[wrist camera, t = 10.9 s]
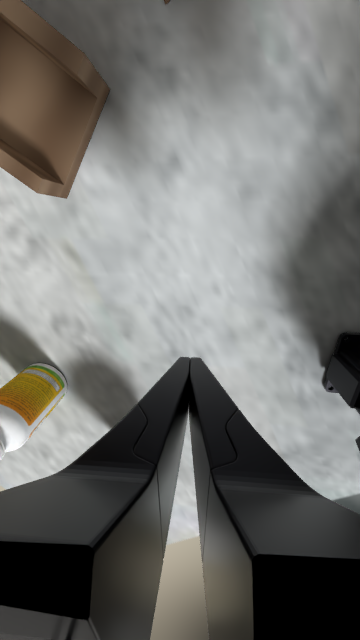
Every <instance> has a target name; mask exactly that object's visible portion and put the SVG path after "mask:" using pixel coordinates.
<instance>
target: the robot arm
mask: <svg viewBox="0 0 360 640" xmlns="http://www.w3.org/2000/svg"><path fill="white" fill-rule="evenodd" d="M346 337H348V338H347V339H346V340H344V339H345V338H346ZM330 386H331V387H330ZM329 387H330V388H329ZM324 388H325V390H326V391H327V392H332V393H339V394H340V395H341V396H342V398H343V399H344V400H345V402H346V403H347V404H348V405H349V406H350V407H351V408H355V409H356V410H357V412H358V413H359V414H360V333H347V332H346V333H343V334H341V335H340V337H339V339H338V342H337V346H336V349H335V352H334V354H333V355H332V358H331V361H330V364H329V367H328V371H327V374H326V380H325V383H324ZM188 410H189V421H190V432H191V444H192V455H193V466H194V477H195V488H196V499H197V510H198V521H199V533H200V543H201V555H202V563H203V578H204V589H205V599H206V611H207V622H208V633H209V640H360V514H359V513H357V512H354V511H353V510H350V509H348V508H346V507H344V506H342V505H340V504H338V503H336V502H334V501H331V500H329V499H327V498H325V497H324V496H322V495H320V494H319V493H317V492H316V491H315V490H313V489H312V488H311V487H310V486H308V485H307V484H306V483H305V482H304V481H303V480H302V479H301V478H300V477H299V476H298V475H297V474H296V473H295V472H294V471H293V470H292V469H291V468H290V467H289V466H288V465H287V464H286V462H285V461H284V460H283V459H282V458H281V457H280V456H279V455H278V454H277V453H276V452H275V451H274V450H273V449H272V448H271V447H270V445H269V444H268V443H267V442H266V441H265V440H264V439H263V438H262V437H261V436H260V435H259V433H258V432H257V431H256V430H255V429H254V428H253V427H252V425H251V424H250V423H249V422H248V420H247V419H246V418H245V416H244V415H243V414H242V412H241V411H240V410H239V409H238V407H237V406H236V405H235V403H234V402H233V401H232V399H231V398H230V397H229V395H228V394H227V393H226V391H225V390H224V389H223V387H222V386H221V385H220V383H219V382H218V381H217V379H216V378H215V377H214V375H213V374H212V373H211V371H210V370H209V369H208V367H207V366H206V365H205V363H204V362H203V361H202V359H201V358H195V357H192V358H191V359H190V358H189V357H180V358H179V359H178V360H177V361H176V362H175V363H174V364H173V366H172V367H171V368H170V369H169V370H168V371H167V372H166V373H165V374H164V375H163V376H162V377H161V378H160V380H159V381H158V382H157V383H156V384H155V385H154V386H153V387H152V388H151V389H150V390H149V391H148V393H147V394H146V395H145V396H144V397H143V398H142V399H141V400H140V401H139V402H138V404H136V405H135V406H134V408H133V409H132V410H131V411H130V412H129V413H128V414H127V415H126V416H125V417H124V418H123V419H122V420H121V421H120V422H119V423H118V424H117V425H115V426H114V427H113V428H112V429H111V430H110V431H109V432H108V433H107V434H105V435H104V436H103V437H102V438H101V439H100V440H98V441H97V442H96V443H95V444H94V445H93V446H91V447H90V448H89V449H88V450H87V451H86V452H85V453H83V454H82V455H81V456H80V457H79V458H78V459H76V460H75V461H74V462H73V463H71V464H70V465H69V466H67V467H66V468H64V469H63V470H61V471H59V472H58V473H56V474H53V475H51V476H48V477H46V478H42V479H39V480H36V481H33V482H29V483H26V484H23V485H20V486H17V487H13V488H10V489H7V490H4V491H1V492H0V640H150V636H151V630H152V624H153V617H154V612H155V607H156V600H157V594H158V589H159V583H160V577H161V571H162V565H163V558H164V553H165V548H166V542H167V536H168V530H169V524H170V518H171V512H172V506H173V501H174V495H175V489H176V483H177V477H178V471H179V465H180V459H181V454H182V448H183V442H184V436H185V430H186V424H187V418H188ZM356 443H357V446H358V448H359V451H360V436H359V437H358V438H357V439H356Z"/></svg>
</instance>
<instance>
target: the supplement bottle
mask: <svg viewBox="0 0 360 640" xmlns="http://www.w3.org/2000/svg"><path fill="white" fill-rule="evenodd" d="M66 391H67V382H66V380H65V378H64V376H63V375H62V374H61V373H60V372H59V371H58V370H57V369H56V368H54V367H52V366H50V365H47V364H42V363H37V364H32V365H30V366H28V367H27V368H26V369H24V370H23V371H22V372H20V373H19V374H18V375H17V376H16V377H14V378H13V379H12V380H11V381H9V382H8V383H7V384H6V385H4V386H3V387H2V388H1V389H0V460H1V459H2V458H3V456H4V454H5V452H9V451H13V450H16V449H18V448H20V447H21V446H22V445H23V444H24V443H25V442H26V441H27V440H28V439H29V438H30V436H31V435H32V434H33V433H34V432H35V430H36V429H37V428H38V427H39V426H40V424H41V423H42V422H43V421H44V419H45V418H46V417H47V416H48V415H49V414H50V412H51V411H52V410H53V409H54V408H55V406H56V405H57V404H58V403H59V402H60V400H61V399H62V398H63V396H64V395H65V394H66Z"/></svg>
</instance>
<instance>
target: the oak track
mask: <svg viewBox="0 0 360 640" xmlns="http://www.w3.org/2000/svg"><path fill="white" fill-rule="evenodd" d="M109 91H110V88H109V87H108V86H107V84H106V83H105V82H104V80H103V79H102V77H101V76H100V75H99V73H98V72H97V70H96V69H95V68H94V66H93V65H92V63H91V62H90V61H89V59H88V58H87V56H86V55H85V54H84V53H83V52H82V51H81V50H80V49H78V48H77V47H76V46H75V45H74V44H72V43H71V42H70V41H69V40H68V39H66V38H65V37H64V36H63V35H62V34H60V33H59V32H58V31H57V30H56V29H54V28H53V27H52V26H51V25H50V24H49V23H47V22H46V21H45V20H44V19H43V18H41V17H40V16H39V15H38V14H37V13H35V12H34V11H33V10H32V9H31V8H29V7H28V6H27V5H26V4H25V3H23V2H22V1H21V0H0V167H1V168H3V169H4V170H5V171H7V172H8V173H10V174H11V175H12V176H14V177H15V178H17V179H18V180H19V181H21V182H22V183H24V184H25V185H27V186H28V187H29V188H31V189H32V190H34V191H35V192H36V193H39V194H45V195H50V196H56V197H61V198H67V197H68V194H69V192H70V189H71V187H72V184H73V182H74V179H75V177H76V174H77V172H78V169H79V167H80V164H81V162H82V159H83V157H84V154H85V151H86V149H87V146H88V144H89V141H90V139H91V136H92V134H93V131H94V129H95V126H96V124H97V121H98V119H99V116H100V114H101V111H102V109H103V106H104V104H105V101H106V98H107V96H108V93H109Z"/></svg>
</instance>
